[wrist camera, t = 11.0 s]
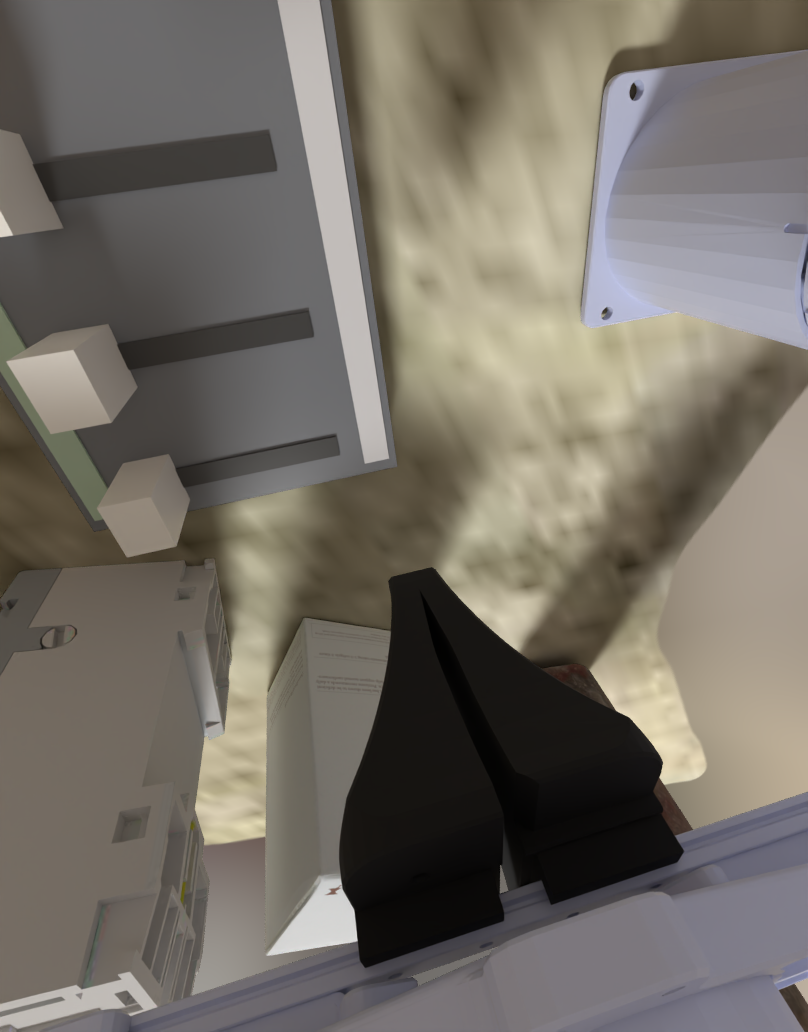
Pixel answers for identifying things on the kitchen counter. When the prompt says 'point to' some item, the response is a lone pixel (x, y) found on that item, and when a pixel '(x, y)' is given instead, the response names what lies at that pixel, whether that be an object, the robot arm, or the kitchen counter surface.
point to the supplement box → (316, 777)
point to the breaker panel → (184, 256)
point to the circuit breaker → (105, 785)
